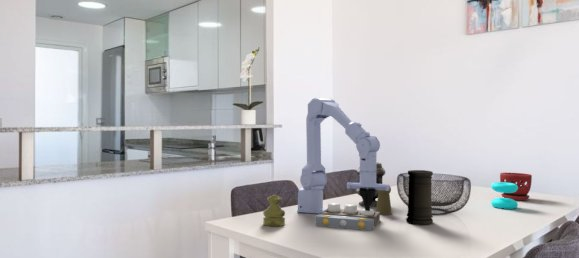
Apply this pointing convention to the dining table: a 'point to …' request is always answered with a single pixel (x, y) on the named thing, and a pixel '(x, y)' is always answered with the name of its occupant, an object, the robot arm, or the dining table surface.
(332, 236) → the dining table surface
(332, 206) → the left button
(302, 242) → the dining table surface
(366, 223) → the pattern card
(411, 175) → the container
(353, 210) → the middle button
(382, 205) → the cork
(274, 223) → the olive green tiered piece
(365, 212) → the right button
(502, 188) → the donuts
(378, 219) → the button board
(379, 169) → the apothecary jar
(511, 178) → the plant pot
